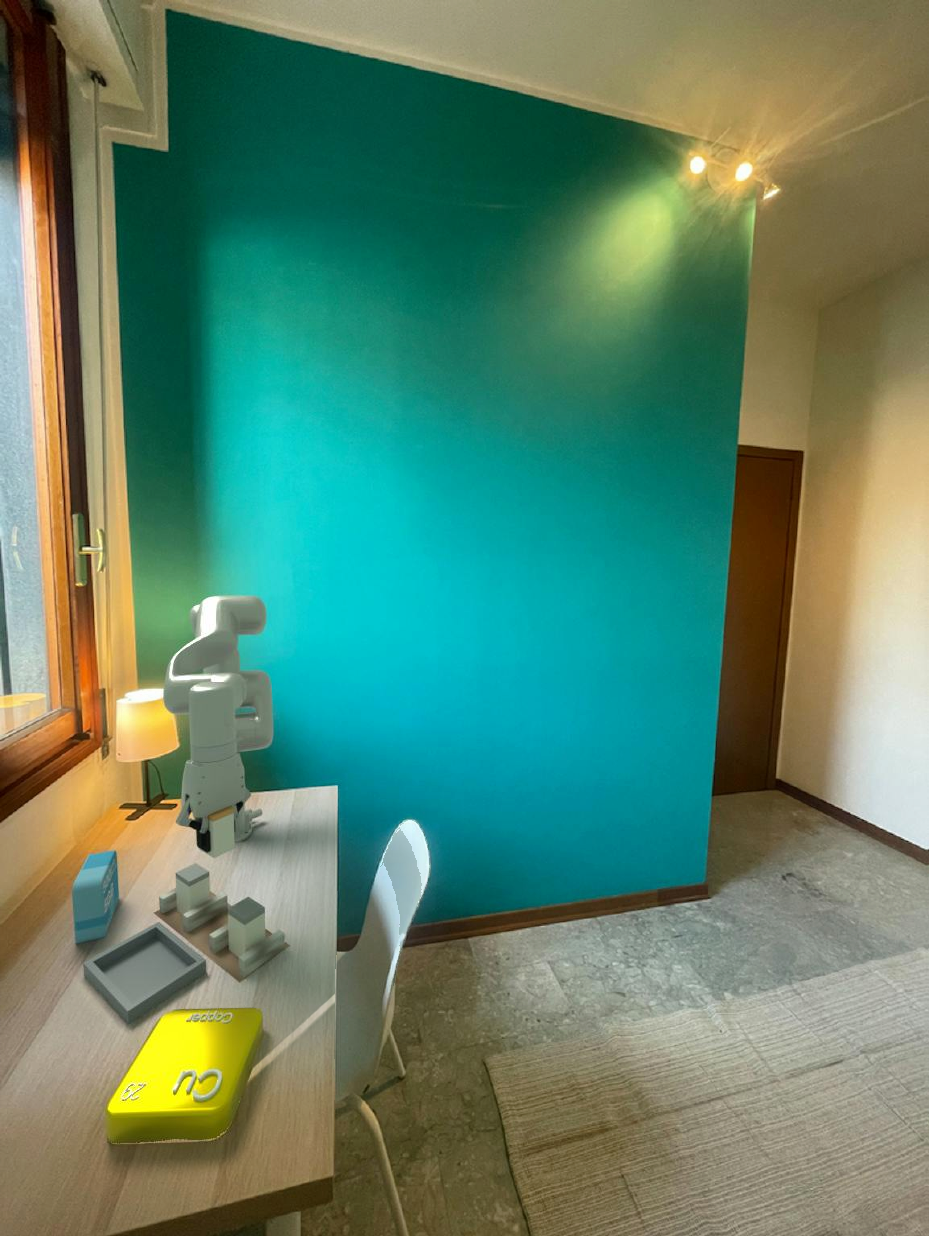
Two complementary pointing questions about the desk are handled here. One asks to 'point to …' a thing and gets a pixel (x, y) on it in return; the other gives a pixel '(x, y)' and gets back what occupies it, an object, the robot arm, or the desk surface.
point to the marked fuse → (221, 832)
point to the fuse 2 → (245, 925)
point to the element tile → (186, 1076)
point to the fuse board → (218, 934)
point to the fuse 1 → (192, 887)
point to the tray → (144, 971)
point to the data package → (95, 896)
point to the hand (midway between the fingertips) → (216, 843)
